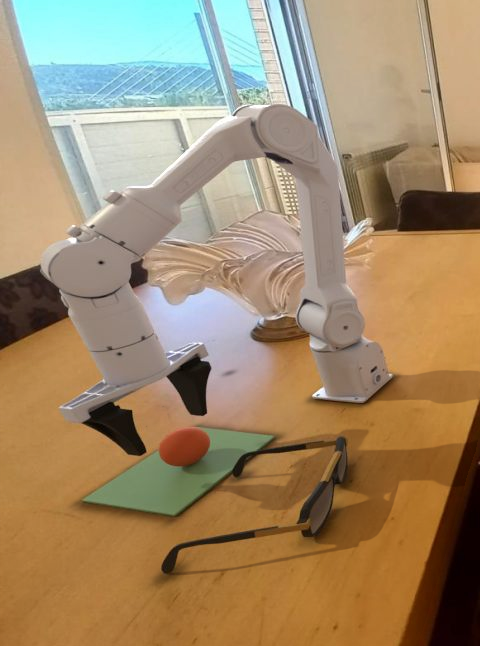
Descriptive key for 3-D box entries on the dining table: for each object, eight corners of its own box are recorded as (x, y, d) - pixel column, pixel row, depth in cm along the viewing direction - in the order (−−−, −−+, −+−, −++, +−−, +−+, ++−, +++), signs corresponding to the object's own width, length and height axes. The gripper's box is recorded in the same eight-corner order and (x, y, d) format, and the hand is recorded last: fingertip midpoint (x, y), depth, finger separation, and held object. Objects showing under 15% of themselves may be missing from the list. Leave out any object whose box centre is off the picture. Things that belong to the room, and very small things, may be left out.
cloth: (275, 437, 68) (274, 435, 68) (175, 516, 55) (174, 514, 55) (195, 428, 71) (194, 426, 70) (82, 501, 58) (81, 500, 58)
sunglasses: (235, 476, 61) (221, 446, 59) (362, 456, 64) (352, 427, 62) (164, 575, 48) (143, 540, 46) (325, 545, 51) (312, 511, 49)
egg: (219, 460, 65) (220, 424, 64) (179, 476, 60) (180, 437, 60) (189, 454, 66) (190, 419, 65) (147, 469, 61) (148, 431, 60)
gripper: (160, 311, 63) (199, 396, 68) (13, 370, 50) (77, 470, 55) (204, 314, 61) (240, 400, 67) (65, 375, 48) (125, 477, 54)
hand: (170, 432), depth 61 cm, fingers open, 7 cm apart
